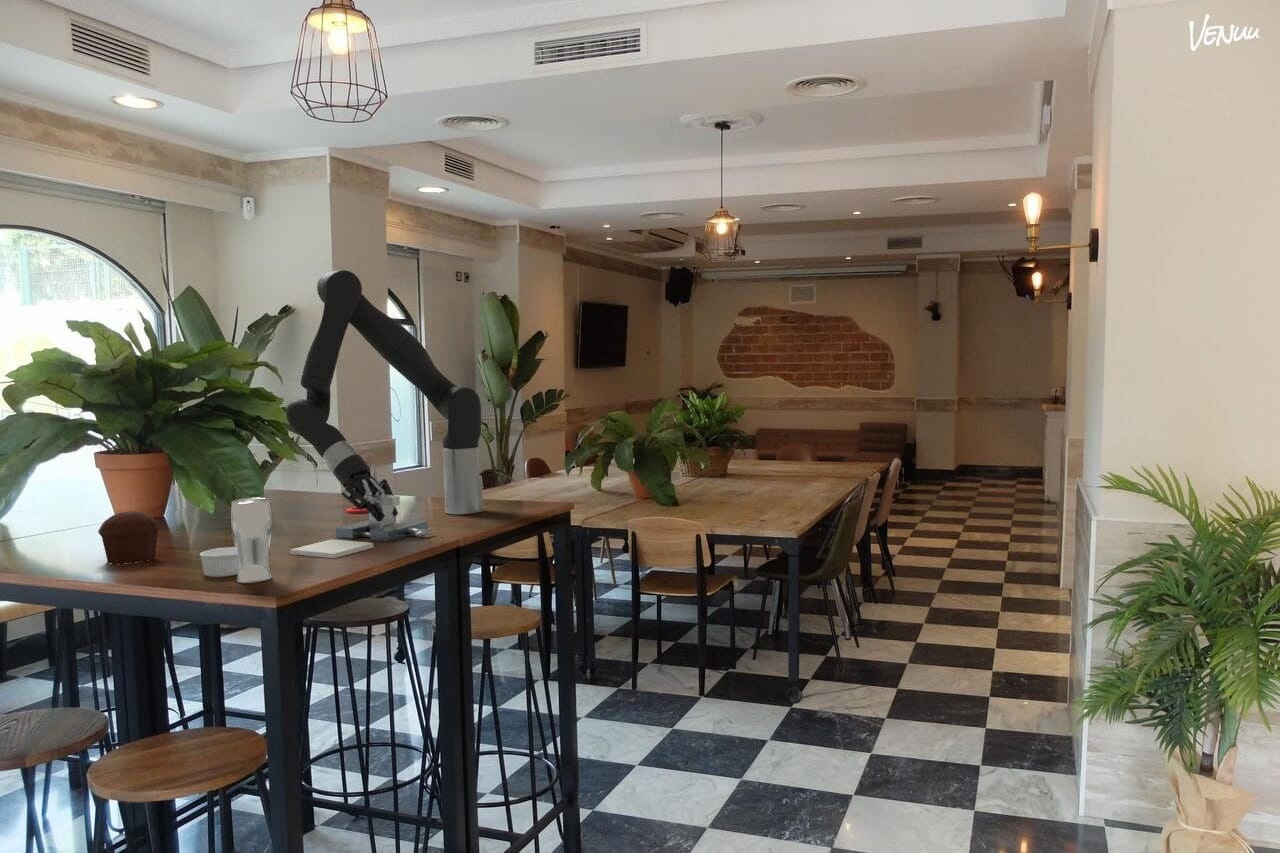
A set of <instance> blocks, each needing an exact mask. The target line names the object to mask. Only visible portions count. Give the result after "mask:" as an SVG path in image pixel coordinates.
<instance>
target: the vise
mask: <svg viewBox="0 0 1280 853" xmlns="http://www.w3.org/2000/svg"><path fill="white" fill-rule="evenodd" d="M434 532H435V530H434V528H429V529H428V521H424V520H423V521H422V520H407V521H403V522H399V523H394V525H391V526H387V527H383V528H379V529H375V530H371V531H370V526H369V519H367V520H364V521H360V522H359V521H358V522H355V523H350V524H346V525H343V526H338V527H335V537H336V538H342V539H357V538H370V541H374V542H375V541H376V542H378V541H379V542H386V543H387V542H391V541H395V540H399V539H403V538H407V537H410V536H414V537H415V538H416V537H427V536H428V534H431V533H434Z"/></svg>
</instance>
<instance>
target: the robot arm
mask: <svg viewBox="0 0 1280 853" xmlns="http://www.w3.org/2000/svg"><path fill="white" fill-rule="evenodd" d="M362 286H363V285H362V282H361V280H360V278H359V277H358V276H357V274H355V273H354V272H352V271H350V270H345V269H338V270H336V269H335V270H331V271H328V272H325V273H324V274H322V275H321V276H320V277H319V279H318V280H317V284H316V289H317V294H318V297H319V298H320V300H321V302H323V304H324V305H323V312H322V317H321V321H320V323H319V327H318V329H317V332H316V335H315V336H314V339H313V340H312V343H311V345H310V348H309V350H308V353H307V355H306V359H305V361H304V362H305V363H304V366H303V369H302V374H301V378H300V385H301V387H302V388H304V389H305V390H306V399H303V398H299V399H294V400H292V401H291V402H289V403H288V404H287V407H286V409H285V410H286V411H285V415H286V419H287V422H288V423H289V425H290V426H291V427H292V429H293V430H294V431H295V432H296V433H297V434H299V435H300V436H301V437H302V438H303V439H304V440H305V441H307V442H308V443H309V444H310V445H312V447H313V448H314V449H315V451H316V452H317V453H318V455H319V457H320V458H322V460H323V461H324V463H325V464H326V466H327V468H328V469H329V471H330V472H331V473H332V474H333V476H334V477H335V478H336V479H337V481H338V482H339V483H340V485H341V486H342V487H343V488H344V490H343V491H342V492H341V496H343V497H344V498H345V499H346V500H348V501H349V503H351V504H352V505H353V506H354V507H357V508H358V509H360V510H362V509H365V510H367V511H369V512H370V513H371V515H372V516H373V517H374V518H375V519H376V520H377V521H378V522H379V521H381V520H382V519H383V518H384V517H385V515H384V513H383V512H382V511H381V510H380V508H379V507H378V506H377V505H376V504H374V503H375V502H374V500H373V499H372V498H371V497H372V496H375V495H376V493H377V492H378V494H377V495H393V496H395V495H394V493H393V491H392V489H391V487H390V485H389V482H388V480H386V479H385V478H384V479H383V478H382V480H378V479H377V480H376V479H375V478H374V477H372V473H371V467H370V466H369V464H368V463H367V462H366V461H365V460H364V458H363V457H362V455H361V454H360V453H359V452H358V450H357V449H356V448H355V447H354V446H353V445H352V444H351V443H349V441H348V440H347V438H346V437H345V436H344V434H343V433H341V431H340V430H339V429H338V428H337V427H335V426H333V425H332V424H329V423H328V420H329V418H330V414H331V413H330V412H331V385H332V383H333V382H332V381H333V378H334V375H335V372H336V366H337V364H338V363H337V362H338V358H339V355H340V351H341V348H342V343H343V341H344V339H345V338H344V337H345V335H346V331H347V329H348V326H349V324H350V325H352V327H354V329H356V331H358V333H359V334H360V336H362V337H363V338H364V339H365V340H366V341H367V343H368V344H369V345H370V346H371V347H372V348H373V349H374V350H375V351H376V352H377V353H378V354H379V355H380V356H381V357H382V358H383V359H384V360H385V361H386V362H387V363H388V364H389V365H391V367H393V369H395V371H397V372H398V373H399V374H400V375H402V377H403V378H405V379H406V380H407V381H408V382H409V383H410V384H412V385H413V386H414V387H416V388H417V389H418V390H419V391H420V392H421V393H422V394H423V395H424V397H425V398H426V399H427V400H428V401H429V402H430V404H431V405H432V406H433V408H435V410H437V412H438V413H439V414H440V415H441V416H442V417H443V418H445V419H446V420H447V431H446V434H445V435H444V436H443V438H442V455H443V460H442V461H443V484H444V511H445V514H447V515H470V514H477V513H480V512H484V501H483V500H484V497H483V494H484V493H483V476H482V475H480V456H479V454H480V452H479V440H480V438H481V435H482V404H481V400H480V399H481V398H480V396H479V394H478V393H477V391H475V390H474V389H473V388H470V387H468V386H458V385H456V384H454V382H452V381H450V380H449V379H448V378H447V377H446V376H445V375H444V374H442V373H441V371H440V370H439V369H438V368H437V367H436V366H435V364H434V362H433V360H432V358H431V356H430V355H429V353H428V351H427V350H426V349H425V347H424V345H422V343H421V342H420V341H419V339H417V338H416V337H415V336H414V335H413V334H412V333H411V332H410V331H409V330H407V328H405V327H404V326H403V325H402V324H401V323H399V322H398V321H396V320H395V319H393V318H391V316H389V315H387V314H385V313H384V312H382V311H381V310H380V309H378V308H377V307H376V306H375V305H374V304H372V303H371V302H370V301H369V300H368V298H367V297H366V296H364V294H363V293H362V292H363V287H362ZM357 500H358V501H357ZM369 512H368V513H369ZM398 513H399V512H398V510H397V509H396V506H394V519H395V518H396V516H397V515H399V514H398Z"/></svg>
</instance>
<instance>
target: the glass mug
mask: <svg viewBox="0 0 1280 853" xmlns="http://www.w3.org/2000/svg"><path fill="white" fill-rule="evenodd" d="M393 495H394V494H393ZM393 495H388V494H387V495H375V496H372V497H371V498H372V499H373V500H374V502H375V503H374V504H376V505H377V506H378V507H379V508H380V510H381V511H382V512H383V513H384V515H385V517H384V518H383V519H382V520H381V521H379V522H378V521H377V520H376V519H375V518H374V517H373V516H372V515H371V513H370V512H368V520H369V526H370V531H371V530H375V529H379V528H383V527H387V526H391V525H395V518H394V507H396V506H399V505H401V498H400V497H401V496H400V495H394V496H393Z"/></svg>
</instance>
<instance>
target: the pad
mask: <svg viewBox="0 0 1280 853" xmlns="http://www.w3.org/2000/svg"><path fill="white" fill-rule="evenodd" d="M373 548H374V543H373V542H364V541H355V540H354V541H353V540H345V539H344V540H343V539H327V540H323V541H319V542H316V543H310V544H306V545H303V546H299V547H296V548H291V549H290V555H292V556H293V555H294V556H295V555H296V556H303V555H304V556H306V557H315V558H326V559H327V558H328V559H337V558H341V557H345V556H348V555H351V554H356V553H358V552H363V551H366V550H369V549H373Z"/></svg>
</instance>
